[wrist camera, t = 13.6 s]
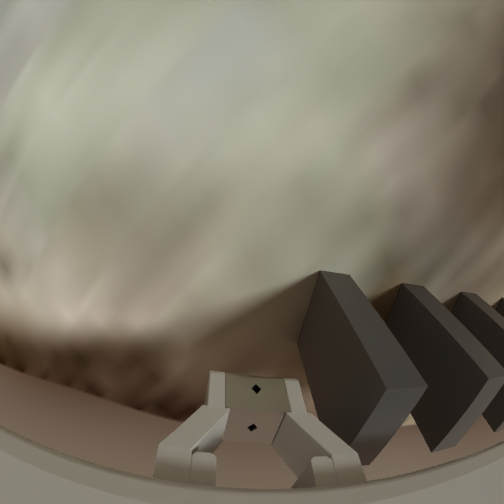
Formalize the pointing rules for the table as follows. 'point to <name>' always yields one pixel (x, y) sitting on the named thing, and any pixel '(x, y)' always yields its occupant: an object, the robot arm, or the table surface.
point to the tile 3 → (485, 343)
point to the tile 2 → (443, 366)
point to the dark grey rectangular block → (356, 367)
